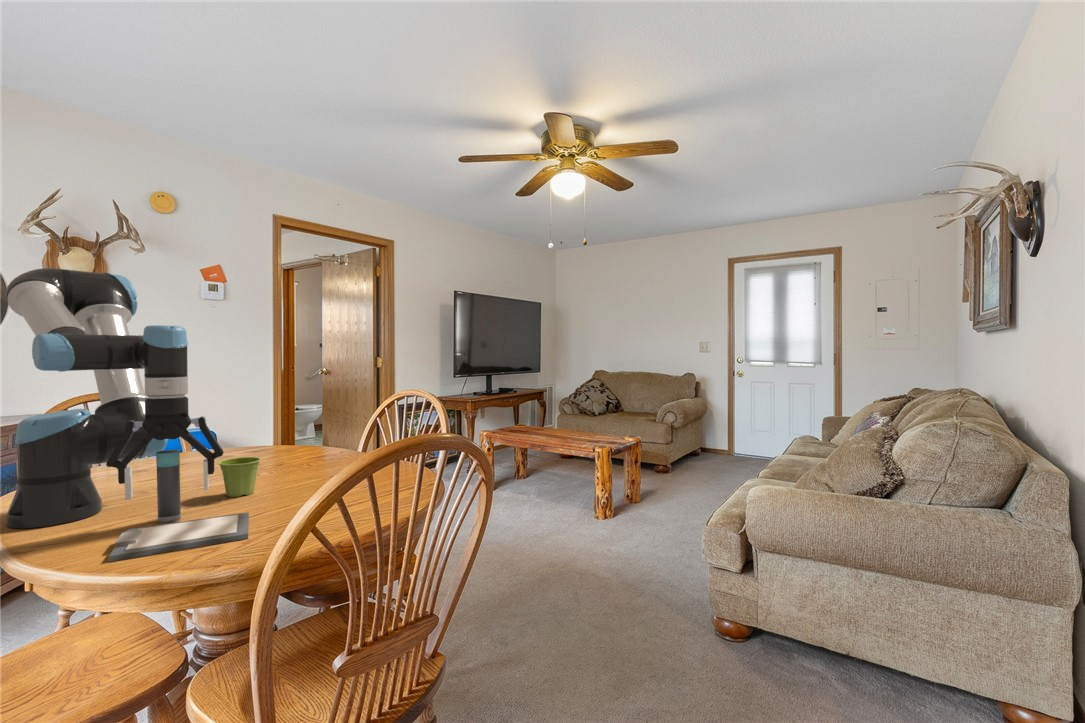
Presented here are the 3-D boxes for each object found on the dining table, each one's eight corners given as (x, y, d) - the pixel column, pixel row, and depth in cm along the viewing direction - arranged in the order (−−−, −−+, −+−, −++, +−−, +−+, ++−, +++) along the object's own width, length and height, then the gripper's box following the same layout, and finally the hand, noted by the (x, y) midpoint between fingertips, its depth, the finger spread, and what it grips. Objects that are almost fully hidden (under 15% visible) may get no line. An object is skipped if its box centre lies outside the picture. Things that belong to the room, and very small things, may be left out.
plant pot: (231, 489, 132) (231, 456, 132) (268, 488, 133) (267, 456, 133) (210, 499, 123) (210, 465, 123) (250, 498, 123) (249, 464, 123)
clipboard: (108, 561, 87) (108, 551, 87) (127, 534, 100) (127, 525, 100) (248, 538, 97) (247, 529, 97) (248, 516, 110) (248, 508, 110)
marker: (156, 524, 105) (154, 454, 105) (159, 518, 109) (157, 450, 109) (179, 520, 108) (178, 452, 107) (182, 515, 111) (180, 448, 111)
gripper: (85, 401, 98) (88, 507, 99) (233, 395, 111) (235, 489, 111) (96, 398, 105) (98, 497, 105) (234, 392, 117) (236, 481, 118)
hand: (168, 493), depth 108 cm, fingers open, 13 cm apart
